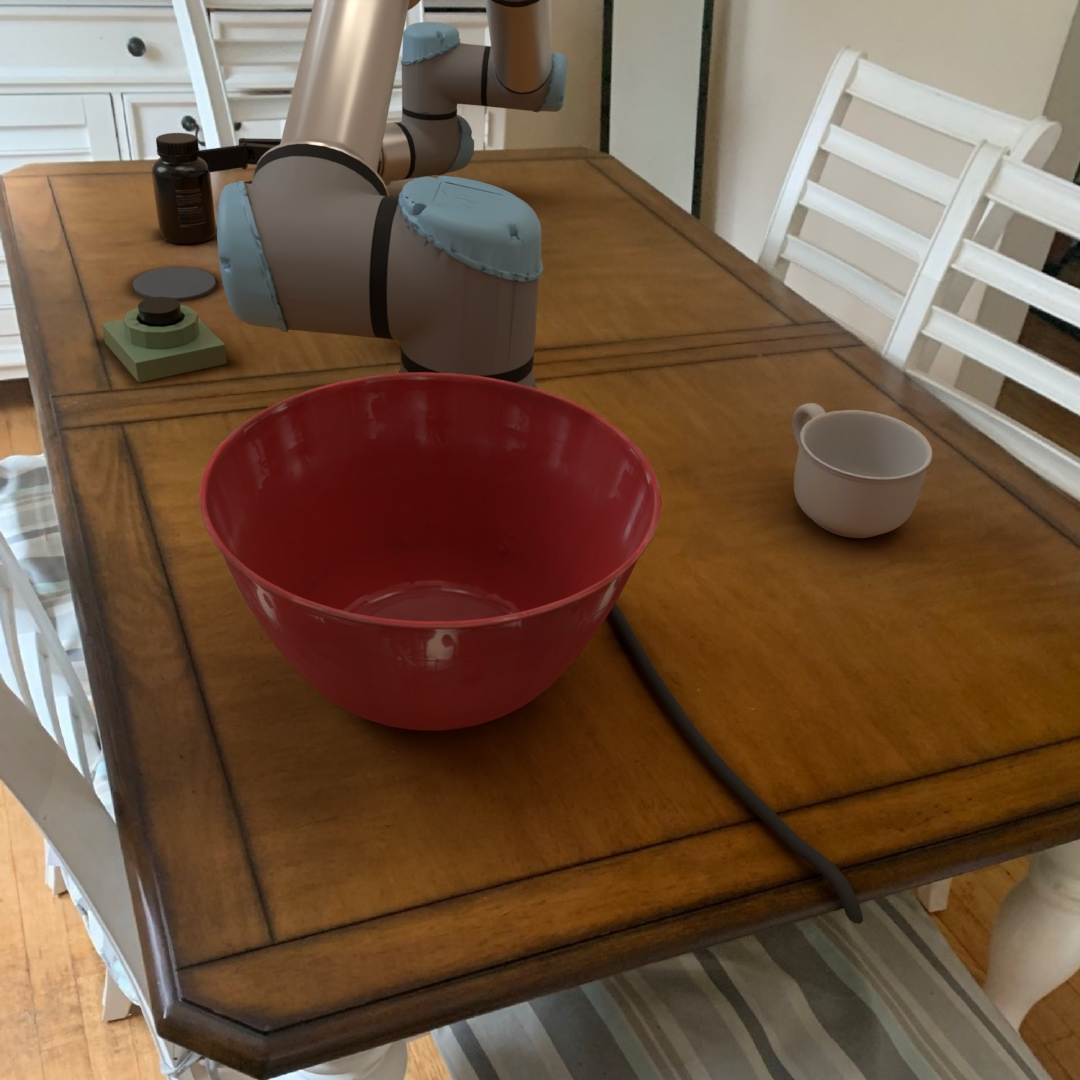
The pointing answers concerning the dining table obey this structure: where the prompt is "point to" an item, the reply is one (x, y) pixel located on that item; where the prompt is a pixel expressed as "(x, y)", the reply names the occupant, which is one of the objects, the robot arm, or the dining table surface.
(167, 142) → the supplement bottle
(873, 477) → the teacup
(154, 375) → the button box
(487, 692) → the mixing bowl
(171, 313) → the button
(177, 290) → the coaster
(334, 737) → the dining table surface
